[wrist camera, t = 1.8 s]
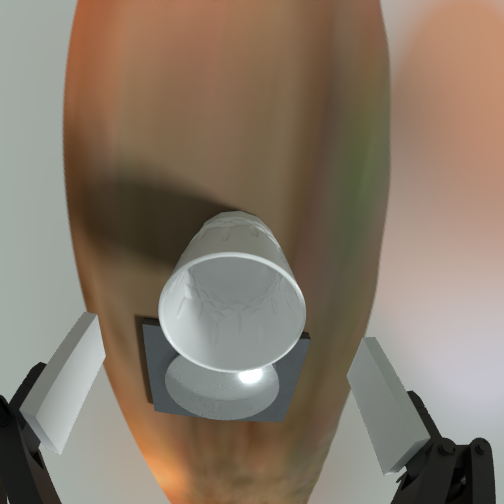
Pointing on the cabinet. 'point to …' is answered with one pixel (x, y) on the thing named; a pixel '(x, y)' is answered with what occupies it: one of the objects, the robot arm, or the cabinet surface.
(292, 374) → the duct collar
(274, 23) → the cabinet surface
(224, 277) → the white cup
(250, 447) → the cabinet surface
